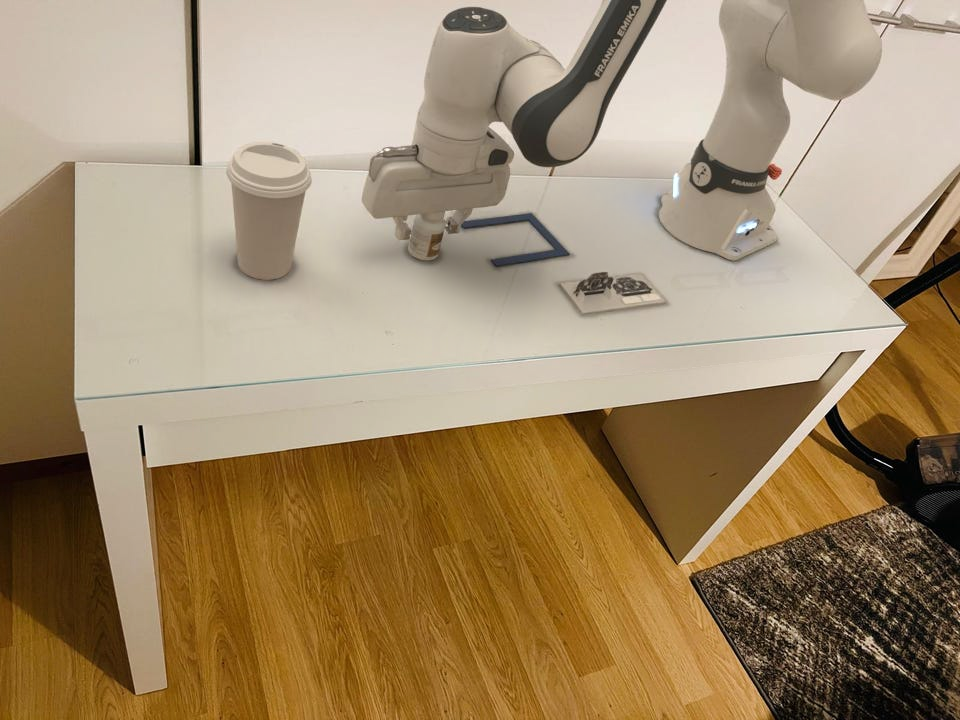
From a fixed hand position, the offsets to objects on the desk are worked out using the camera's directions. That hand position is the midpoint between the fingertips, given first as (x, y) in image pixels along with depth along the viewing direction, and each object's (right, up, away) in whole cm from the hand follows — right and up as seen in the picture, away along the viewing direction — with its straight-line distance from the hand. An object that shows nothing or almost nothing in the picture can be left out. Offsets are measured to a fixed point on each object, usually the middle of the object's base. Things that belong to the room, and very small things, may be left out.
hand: (427, 234), depth 105 cm
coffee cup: (-20, -5, -8) cm, 22 cm away
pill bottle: (-1, -2, +2) cm, 3 cm away
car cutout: (+27, -8, +6) cm, 28 cm away
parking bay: (+12, +1, +10) cm, 15 cm away
